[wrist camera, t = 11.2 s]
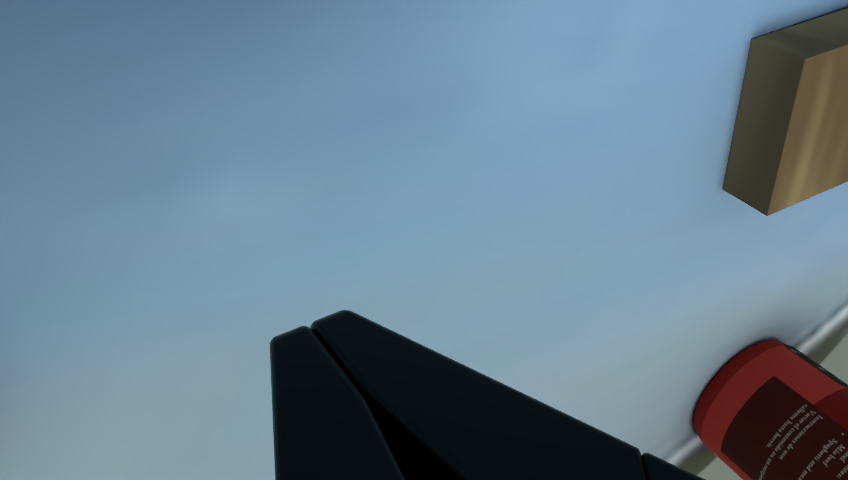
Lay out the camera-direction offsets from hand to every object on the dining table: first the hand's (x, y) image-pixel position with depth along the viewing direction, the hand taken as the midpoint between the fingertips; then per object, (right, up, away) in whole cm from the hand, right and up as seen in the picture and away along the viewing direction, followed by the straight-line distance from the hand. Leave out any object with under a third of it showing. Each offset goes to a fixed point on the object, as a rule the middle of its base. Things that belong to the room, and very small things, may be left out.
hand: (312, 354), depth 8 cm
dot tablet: (+15, +6, +23) cm, 28 cm away
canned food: (+20, -8, +37) cm, 43 cm away
